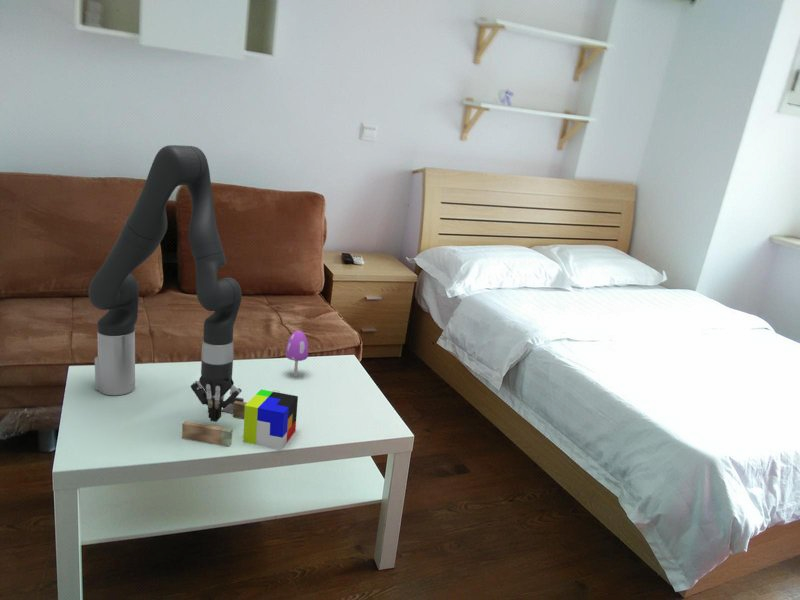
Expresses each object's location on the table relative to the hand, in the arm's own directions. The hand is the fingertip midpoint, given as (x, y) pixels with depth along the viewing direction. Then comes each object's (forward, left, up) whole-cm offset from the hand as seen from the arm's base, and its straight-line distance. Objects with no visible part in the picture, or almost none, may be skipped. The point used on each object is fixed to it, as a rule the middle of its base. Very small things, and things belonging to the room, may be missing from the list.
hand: (214, 419), depth 159 cm
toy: (+10, +38, -2) cm, 39 cm away
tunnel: (+1, +3, -2) cm, 3 cm away
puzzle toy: (+15, 0, -2) cm, 15 cm away
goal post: (+13, +9, -2) cm, 16 cm away
